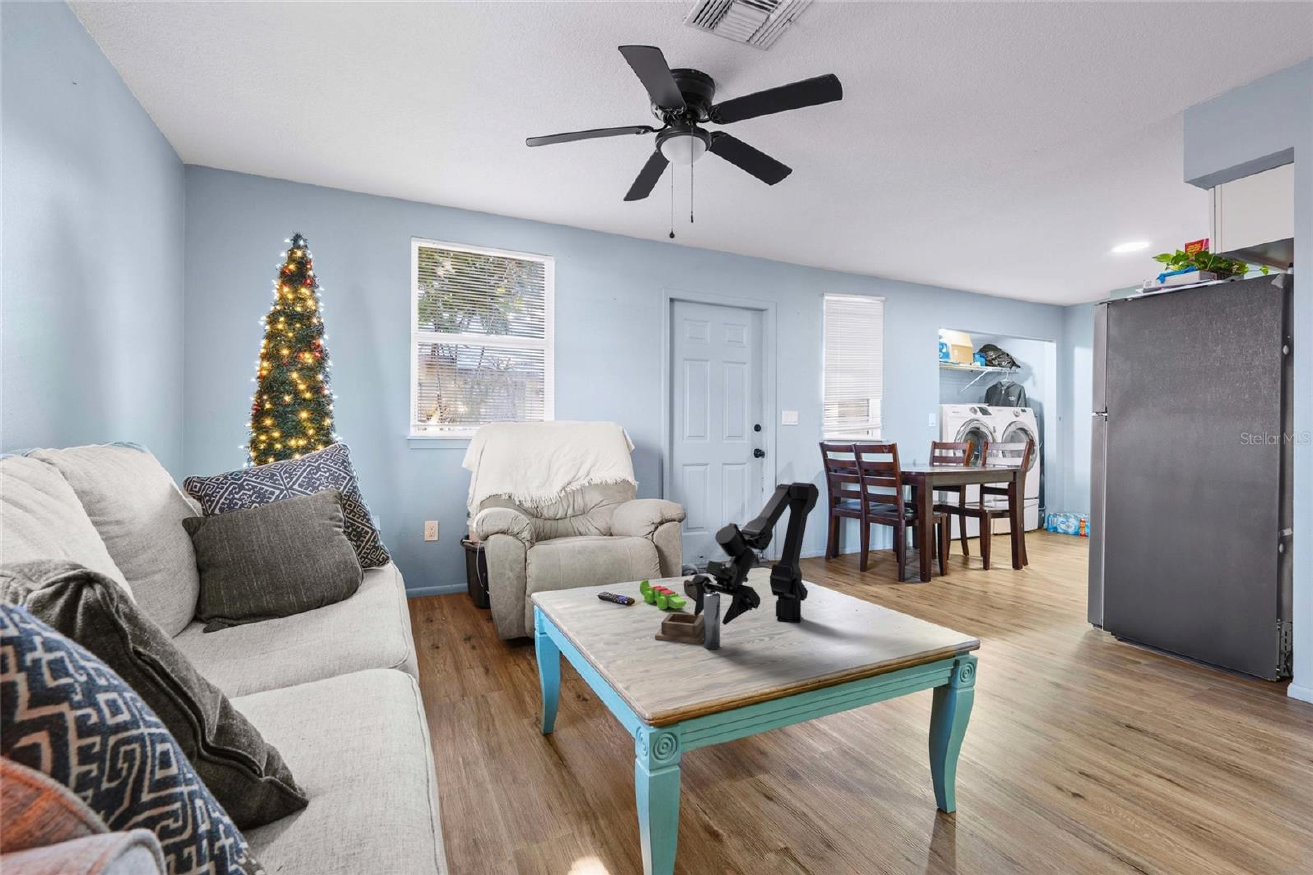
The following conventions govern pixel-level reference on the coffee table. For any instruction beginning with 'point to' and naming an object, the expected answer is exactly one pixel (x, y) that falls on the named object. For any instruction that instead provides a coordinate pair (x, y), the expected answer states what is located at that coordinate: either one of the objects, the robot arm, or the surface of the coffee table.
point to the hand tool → (690, 589)
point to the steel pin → (712, 621)
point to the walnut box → (682, 628)
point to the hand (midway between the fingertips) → (709, 619)
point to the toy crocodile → (661, 596)
